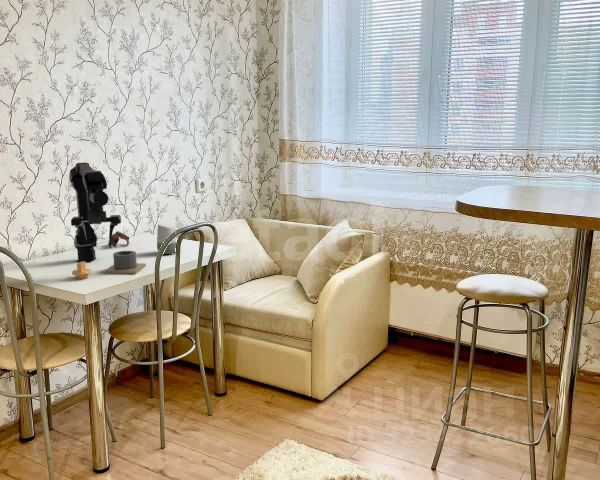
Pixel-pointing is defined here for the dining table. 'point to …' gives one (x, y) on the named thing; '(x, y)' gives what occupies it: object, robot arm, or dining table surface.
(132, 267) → the tube on square plate
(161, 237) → the smart speaker
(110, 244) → the brown curved piece
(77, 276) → the orange cap
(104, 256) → the dining table surface
